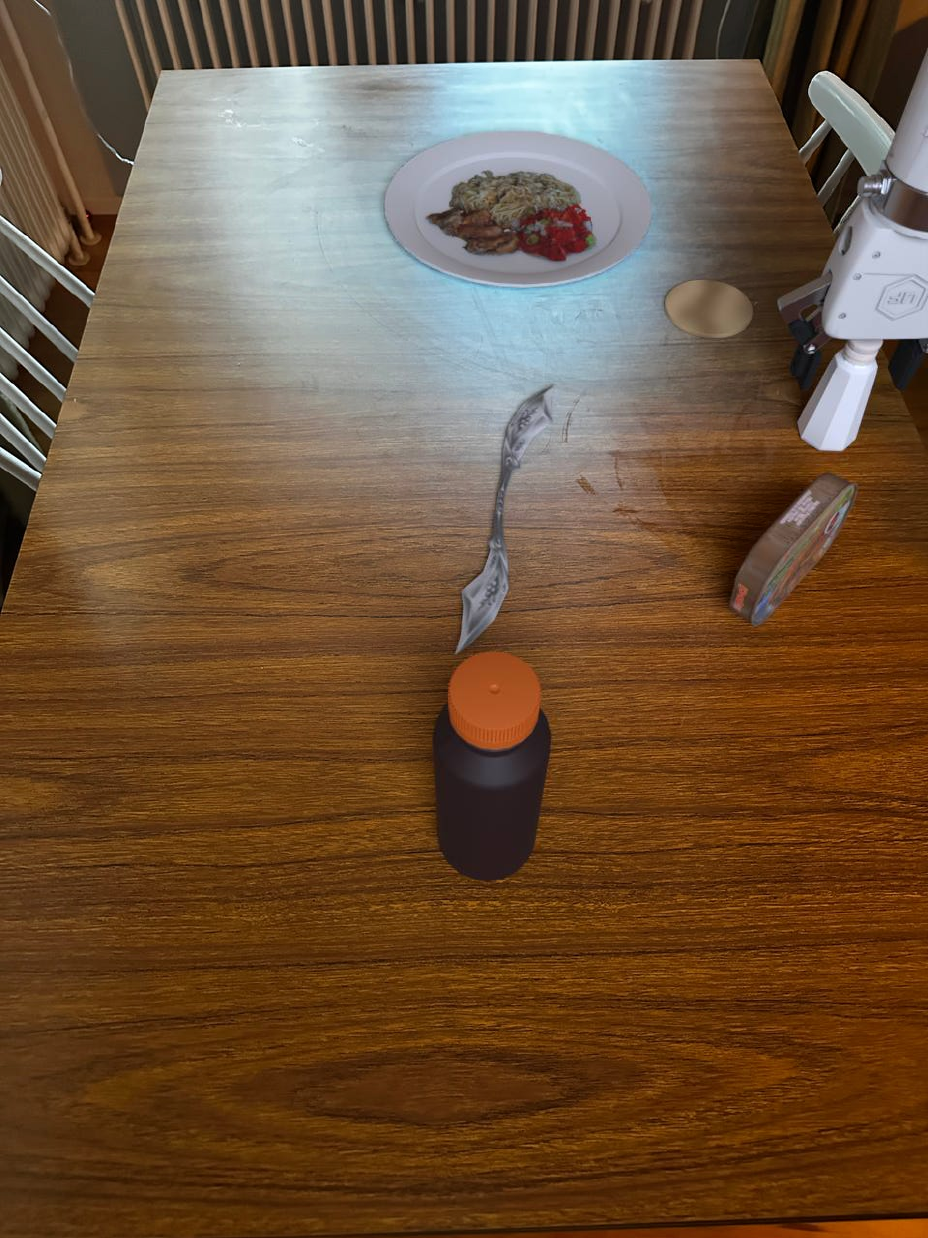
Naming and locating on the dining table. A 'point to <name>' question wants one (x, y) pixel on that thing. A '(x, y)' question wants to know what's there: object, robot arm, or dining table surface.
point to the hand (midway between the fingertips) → (848, 378)
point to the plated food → (518, 209)
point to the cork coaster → (708, 309)
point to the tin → (791, 547)
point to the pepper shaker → (841, 397)
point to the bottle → (490, 765)
